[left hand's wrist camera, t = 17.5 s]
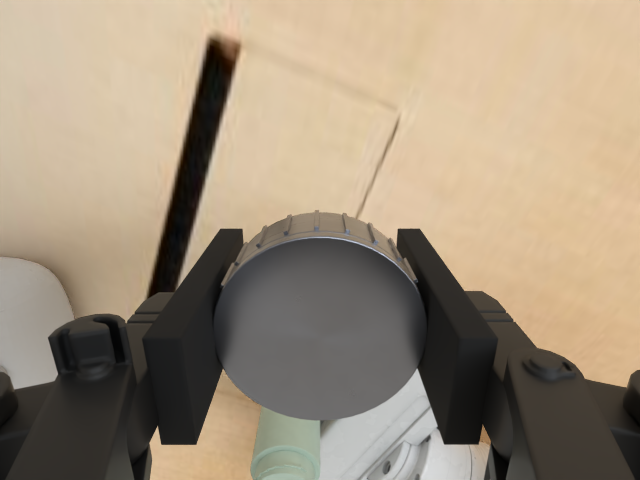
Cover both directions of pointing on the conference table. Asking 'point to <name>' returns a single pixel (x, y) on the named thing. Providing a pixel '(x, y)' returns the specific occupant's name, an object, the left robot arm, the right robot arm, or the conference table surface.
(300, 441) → the jar
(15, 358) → the projector
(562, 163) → the conference table surface
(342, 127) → the conference table surface
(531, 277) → the conference table surface
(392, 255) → the lid
